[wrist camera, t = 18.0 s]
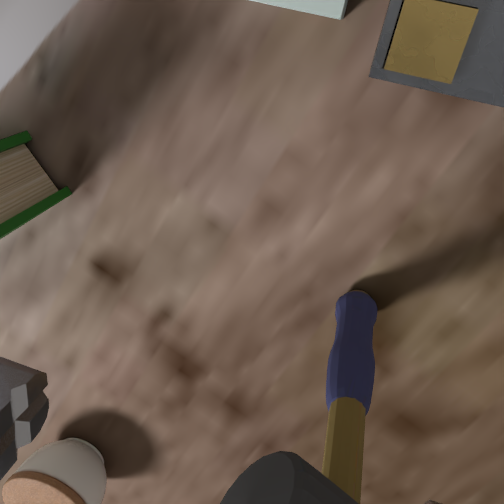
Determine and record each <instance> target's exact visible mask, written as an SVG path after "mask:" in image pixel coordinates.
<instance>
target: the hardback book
mask: <svg viewBox="0 0 504 504" xmlns="http://www.w3.org/2000/svg"><path fill="white" fill-rule="evenodd" d="M30 140H32V137H31V136H30V134H29V133H28V132H27V131H24V132H21V133H18V134H16V135H13V136H10V137H7V138H4V139H1V140H0V239H1V238H3V237H4V236H6V235H8V234H9V233H11V232H12V231H14V230H16V229H17V228H19V227H20V226H22V225H24V224H25V223H27V222H28V221H30V220H31V219H33V218H35V217H36V216H38V215H39V214H41V213H43V212H44V211H46V210H47V209H49V208H50V207H52V206H54V205H55V204H57V203H58V202H60V201H62V200H63V199H65V198H66V197H68V196H70V195H71V194H72V192H71V191H70V190H69V188H68V187H67V186H66V187H64V188H63V189H61V190H59V191H58V189H57V188H56V186H55V185H54V184H53V182H52V181H51V180H50V178H49V177H48V175H47V174H46V173H45V171H44V170H43V169H42V167H41V166H40V165H39V163H38V162H37V160H36V159H35V158H34V156H33V155H32V154H31V152H30V151H29V150H28V148H27V147H26V145H25V144H26V143H28V142H29V141H30Z"/></svg>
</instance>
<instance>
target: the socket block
mask: <svg viewBox="0 0 504 504" xmlns="http://www.w3.org/2000/svg"><path fill="white" fill-rule="evenodd" d="M435 1H440V2H445V3H450V4H455V5H460V6H465V7H470V8H475V9H479V11H478V13H477V16H476V19H475V21H474V24H473V27H472V29H471V32H470V35H469V37H468V40H467V43H466V45H465V48H464V51H463V53H462V56H461V59H460V61H459V64H458V67H457V69H456V72H455V75H454V78H453V80H452V83H451V84H448V83H443V82H439V81H434V80H430V79H425V78H421V77H416V76H412V75H408V74H403V73H399V72H394V71H390V70H385V69H384V66H385V63H386V62H384V60H385V57H386V54H387V50H388V47H389V44H390V40H391V37H392V33H393V30H394V27H395V23H396V20H397V17H398V13H399V10H400V7H401V3H402V0H390V3H389V6H388V10H387V13H386V17H385V20H384V24H383V27H382V31H381V34H380V38H379V41H378V45H377V48H376V52H375V55H374V59H373V62H372V66H371V69H370V74H369V77H372V78H376V79H381V80H385V81H389V82H394V83H398V84H403V85H407V86H411V87H416V88H420V89H425V90H429V91H434V92H438V93H442V94H447V95H451V96H456V97H460V98H465V99H469V100H473V101H478V102H482V103H487V104H491V105H496V106H500V107H504V0H435Z"/></svg>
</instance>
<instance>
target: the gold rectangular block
mask: <svg viewBox="0 0 504 504" xmlns="http://www.w3.org/2000/svg"><path fill="white" fill-rule="evenodd" d="M478 11H479V9H475V8H470V7H465V6H460V5H455V4H450V3H445V2H440V1H435V0H404V3H403V6H402V10H401V13H400V16H399V20H398V23H397V26H396V30H395V33H394V36H393V40H392V43H391V46H390V50H389V53H388V56H387V60H386V63H385V66H384V69H385V70H390V71H394V72H399V73H403V74H408V75H412V76H416V77H421V78H425V79H430V80H434V81H439V82H443V83H448V84H451V83H452V80H453V78H454V75H455V72H456V69H457V67H458V64H459V61H460V59H461V56H462V53H463V51H464V48H465V45H466V43H467V40H468V37H469V35H470V32H471V29H472V27H473V24H474V21H475V19H476V16H477V13H478Z"/></svg>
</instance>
